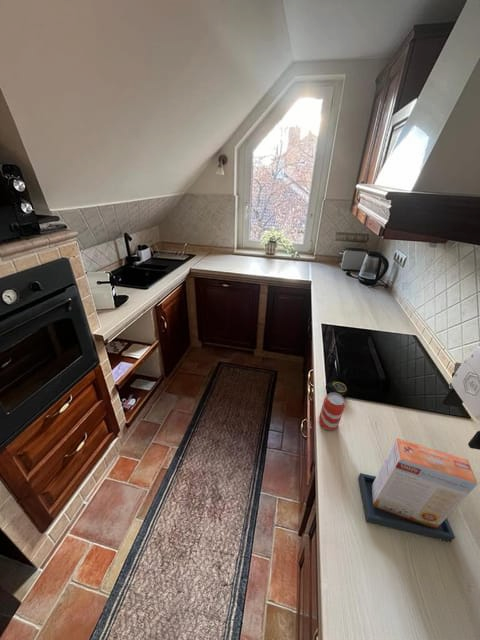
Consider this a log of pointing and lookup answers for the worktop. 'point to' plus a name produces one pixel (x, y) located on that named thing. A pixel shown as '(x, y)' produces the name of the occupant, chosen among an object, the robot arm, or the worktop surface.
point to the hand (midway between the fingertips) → (463, 424)
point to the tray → (395, 521)
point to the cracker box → (421, 483)
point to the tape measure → (337, 388)
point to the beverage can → (331, 411)
